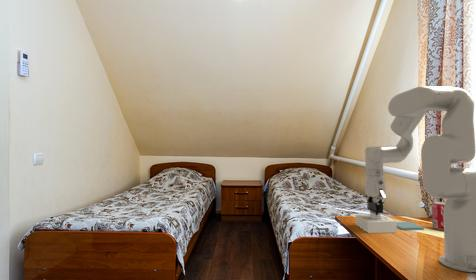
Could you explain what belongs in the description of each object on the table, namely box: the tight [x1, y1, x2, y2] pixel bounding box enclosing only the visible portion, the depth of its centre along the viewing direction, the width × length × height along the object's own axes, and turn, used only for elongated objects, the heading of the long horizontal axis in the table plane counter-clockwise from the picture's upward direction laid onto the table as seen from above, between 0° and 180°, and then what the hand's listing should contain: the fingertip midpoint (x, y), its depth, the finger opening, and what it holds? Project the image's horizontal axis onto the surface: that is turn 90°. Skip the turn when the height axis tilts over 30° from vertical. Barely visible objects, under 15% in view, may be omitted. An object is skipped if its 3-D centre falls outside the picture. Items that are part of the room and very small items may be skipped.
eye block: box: [355, 213, 398, 234], centre depth 138 cm, size 13×13×5 cm
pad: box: [397, 221, 425, 231], centre depth 141 cm, size 10×10×1 cm
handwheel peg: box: [366, 201, 381, 220], centre depth 138 cm, size 6×6×12 cm
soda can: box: [431, 201, 446, 231], centre depth 137 cm, size 7×7×12 cm
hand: (375, 211), depth 138 cm, fingers closed on handwheel peg, 6 cm apart
